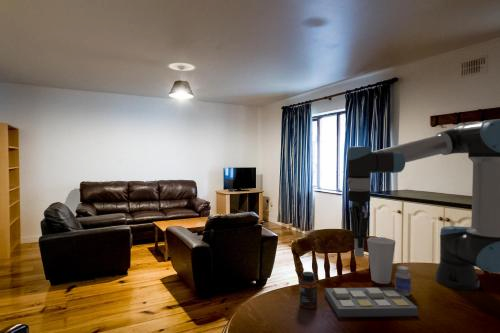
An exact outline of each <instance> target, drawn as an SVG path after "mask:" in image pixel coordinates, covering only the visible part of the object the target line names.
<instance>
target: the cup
mask: <svg viewBox="0 0 500 333" xmlns="http://www.w3.org/2000/svg"><path fill="white" fill-rule="evenodd" d="M366 240H367V241H366V242H367V243H366V244H367V251H368V259H369V266H370V277H371V280H372V281H373V282H374V283H376V284H381V285H385V284H386V285H388V284H390V282H391V279H392V272H393V265H394V257H395V256H394V255H395V247H396V240H395V239H391V238H387V237H383V236H382V237H381V236H380V237H379V236H371V237H369V238H368V239H366Z"/></svg>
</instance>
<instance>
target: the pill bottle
mask: <svg viewBox="0 0 500 333" xmlns="http://www.w3.org/2000/svg"><path fill="white" fill-rule="evenodd" d="M409 272H410V268H409V267H407V266H404V265H398V266H397V267H396V271H395V275H394V277H395V278H394V283H395V284H394V285H395V286H394V288H395V289H396V290H397V291H399V292H400V293H401V294H402V295H403V296H404V297H408V296H410V295H411V294H412V275H411V274H410V273H409Z"/></svg>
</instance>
